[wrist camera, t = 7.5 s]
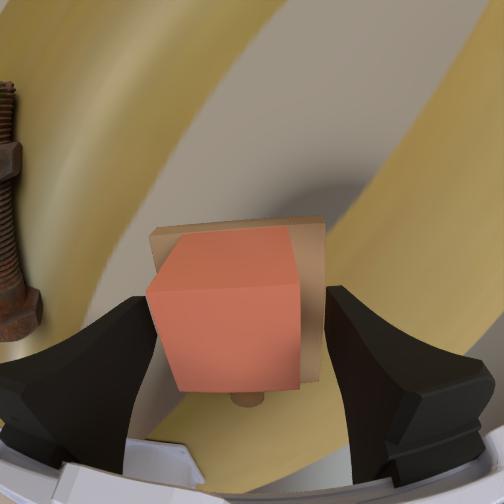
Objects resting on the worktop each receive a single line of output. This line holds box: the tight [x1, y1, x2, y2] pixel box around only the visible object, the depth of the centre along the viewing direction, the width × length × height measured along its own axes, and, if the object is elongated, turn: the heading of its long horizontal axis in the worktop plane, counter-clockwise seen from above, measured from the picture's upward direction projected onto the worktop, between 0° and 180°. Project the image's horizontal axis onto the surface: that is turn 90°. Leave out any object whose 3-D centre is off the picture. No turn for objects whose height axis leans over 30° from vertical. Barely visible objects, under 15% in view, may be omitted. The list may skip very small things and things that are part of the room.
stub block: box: [149, 215, 326, 407], centre depth 14 cm, size 10×8×4 cm
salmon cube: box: [146, 226, 301, 393], centre depth 12 cm, size 5×5×5 cm
